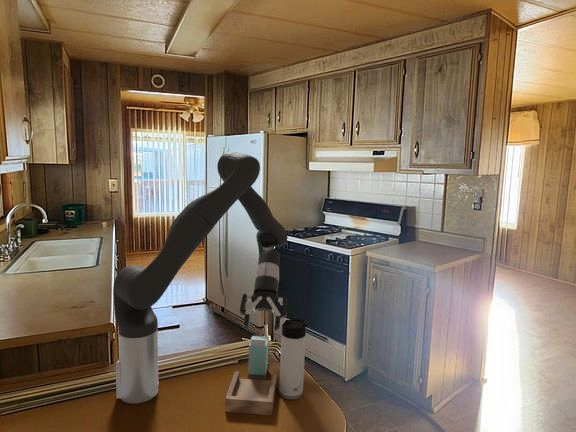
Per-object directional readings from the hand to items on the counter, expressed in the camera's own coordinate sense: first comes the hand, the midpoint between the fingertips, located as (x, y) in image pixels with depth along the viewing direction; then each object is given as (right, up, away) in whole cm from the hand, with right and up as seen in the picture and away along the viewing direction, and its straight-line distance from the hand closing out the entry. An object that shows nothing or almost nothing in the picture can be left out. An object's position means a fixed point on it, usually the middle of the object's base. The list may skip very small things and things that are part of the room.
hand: (261, 329), depth 118 cm
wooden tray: (-1, -13, -15) cm, 20 cm away
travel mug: (+9, -13, -13) cm, 20 cm away
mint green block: (-1, -12, -4) cm, 12 cm away
